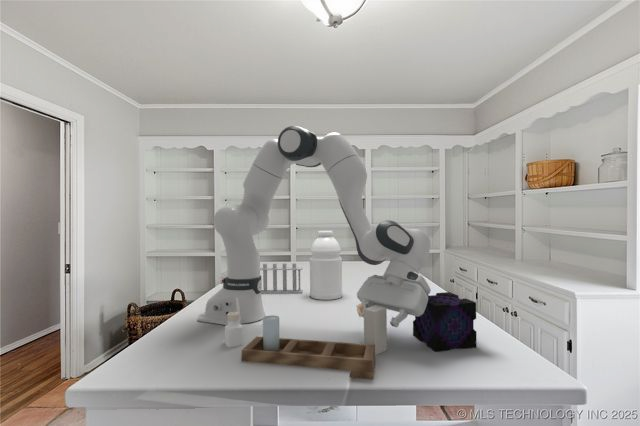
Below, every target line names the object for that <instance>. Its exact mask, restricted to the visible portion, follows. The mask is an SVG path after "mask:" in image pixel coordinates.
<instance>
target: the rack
mask: <svg viewBox="0 0 640 426" xmlns="http://www.w3.org/2000/svg"><path fill="white" fill-rule="evenodd" d="M241 362H251V363H260V364H262V363H264V364H270V365H271V364H273V365H282V366H283V365H285V366H296V367H297V366H298V367H307V368H319V369H330V370H340V371H350V372H349V374H348V375H349V376H348V378H355V379H357V378H358V379H367V380H373V379H374V372H375V365H376V355H375V345H371V344H364V343H354V342H340V341H339V342H338V341H327V340H326V341H325V340H311V339H299V338H283V337H280V352H276V351H264V350H263V336H255V338H253V339H251V341H250V342H249V343H248V344H247V345H245V346H244V348H242V349H241Z"/></svg>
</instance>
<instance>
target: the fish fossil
mask: <svg viewBox="0 0 640 426" xmlns="http://www.w3.org/2000/svg"><path fill="white" fill-rule="evenodd" d="M363 310H364V308H363V303H362V302H360V303H359V304H358V305H356V312H357V315H358V316H359V318H363V317H362V315H361V314H362V312H363Z"/></svg>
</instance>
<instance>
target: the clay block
mask: <svg viewBox="0 0 640 426" xmlns="http://www.w3.org/2000/svg"><path fill="white" fill-rule="evenodd" d="M387 310H388V309H387V308H385V307H381V306H377V305H375V306H372V307H369V308H366V309H364V318H363V344H371V345H375V356H378V355H379V354H381V353H384V352H386V351H388V328H387V327H388V326H387V325H388V324H387V323H388V322H387V321H388V317H387Z"/></svg>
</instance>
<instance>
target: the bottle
mask: <svg viewBox="0 0 640 426" xmlns="http://www.w3.org/2000/svg"><path fill="white" fill-rule="evenodd" d="M333 231H334V230H318V231H317V236H318V237H317V238H316V239H315V240H314V241H313V242H312V244H311V246H310V250H309V251H310V252H311V253H312V255H311V256H310V257H309V295H310V297H311V299H315V300H319V301H321V300H323V301H330V300H337V299H340V298H341V297H343V275H342V274H343V270H342V269H343V267H342V266H343V258H342V257H341V255H340V253H341V251H342V248H341V245H340V243H339V241H338V240H337V239H336V238H335V237H334V232H333Z"/></svg>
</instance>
